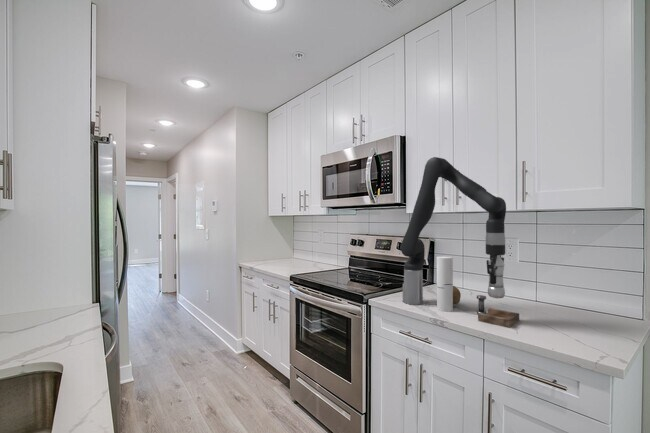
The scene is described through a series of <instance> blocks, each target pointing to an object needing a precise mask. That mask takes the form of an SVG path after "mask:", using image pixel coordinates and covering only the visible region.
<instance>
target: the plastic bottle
mask: <svg viewBox="0 0 650 433" xmlns="http://www.w3.org/2000/svg"><path fill="white" fill-rule="evenodd" d="M500 256H501V258H502V255H497V260H496V264H494V268H495V267H497V266H498V270H496V284H491V283H490V275H489V274H488V287H487V294H488V297H490V298H493V299H503V298H504V297H505V296H506V290H505V285H504V271H505V261H504V262H503V260H502V259H501V258H500ZM489 270H490V269H489ZM491 271H492V270H491Z"/></svg>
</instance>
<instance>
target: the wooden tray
mask: <svg viewBox="0 0 650 433" xmlns="http://www.w3.org/2000/svg"><path fill="white" fill-rule="evenodd" d="M519 321H520V313H519V312H515V311H514V312H513V311H508V310H502V309H498V308H492V307H489V308H487V313H486V314H483V313H479V314H477V322H482V323H486V324H490V325H494V326H495V325H496V326H498V327H499V326H500V327H504V328H508V329H509V328H511V327H513V326H514V325H515V324H517V323H518V322H519Z"/></svg>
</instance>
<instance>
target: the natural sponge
mask: <svg viewBox="0 0 650 433" xmlns="http://www.w3.org/2000/svg"><path fill="white" fill-rule="evenodd" d="M461 294H462V293H461V291H460V289H459V288H458V287H456V286H455V285H453V307H454V306H456V305H459V303H460V302H461V296H462V295H461Z"/></svg>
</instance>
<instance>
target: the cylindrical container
mask: <svg viewBox="0 0 650 433" xmlns="http://www.w3.org/2000/svg"><path fill="white" fill-rule="evenodd" d="M453 265H454V262H453V257H452V256H445V255H444V256H443V255H442V256H436V310H437V311H440V312H453V311H454V306H453V286H454V282H453V279H454V278H453V270H454V269H453V267H454V266H453Z"/></svg>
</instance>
